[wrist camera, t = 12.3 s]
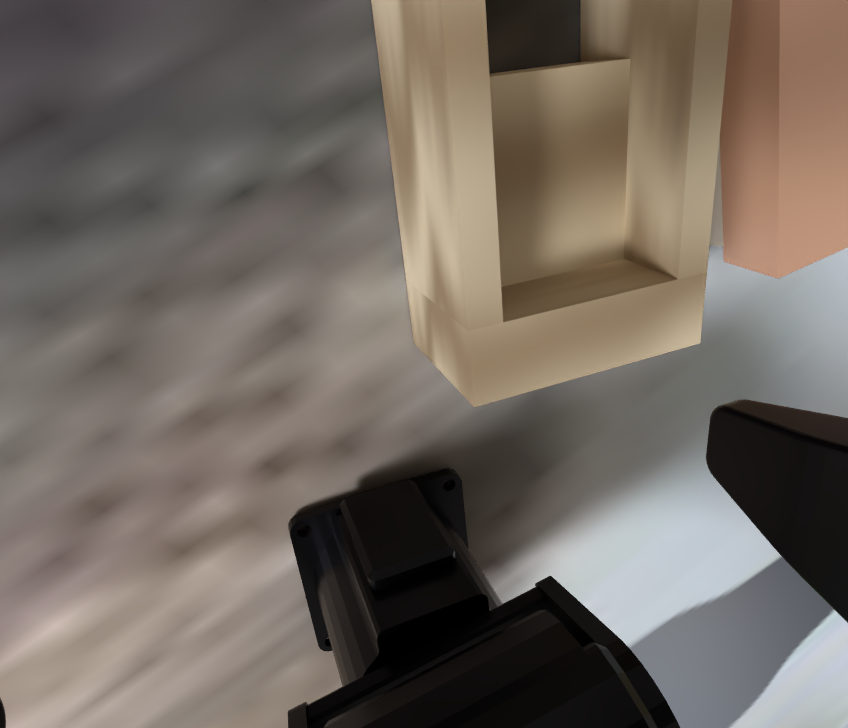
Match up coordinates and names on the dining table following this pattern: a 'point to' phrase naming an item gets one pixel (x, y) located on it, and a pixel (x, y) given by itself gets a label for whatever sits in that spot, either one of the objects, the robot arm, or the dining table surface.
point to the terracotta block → (785, 134)
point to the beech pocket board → (553, 188)
